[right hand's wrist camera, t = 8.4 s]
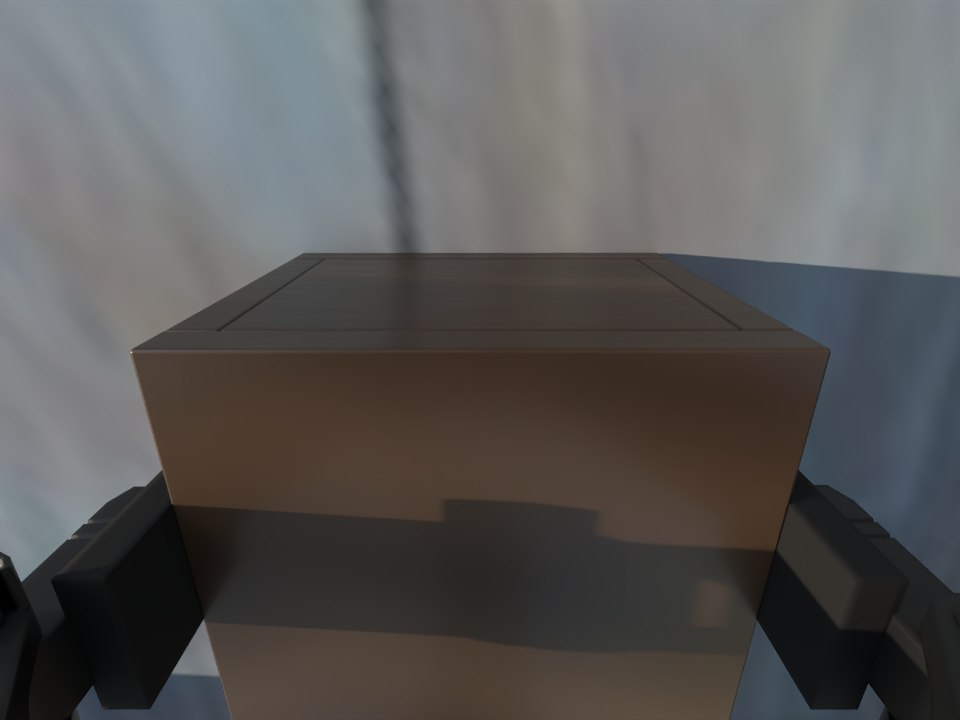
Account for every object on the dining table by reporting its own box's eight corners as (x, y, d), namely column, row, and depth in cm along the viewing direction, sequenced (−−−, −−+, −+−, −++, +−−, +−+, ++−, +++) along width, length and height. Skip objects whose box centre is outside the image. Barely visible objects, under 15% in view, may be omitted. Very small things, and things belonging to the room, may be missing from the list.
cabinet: (597, 726, 23) (653, 1001, 16) (364, 726, 23) (308, 1001, 16) (658, 252, 15) (833, 349, 8) (302, 252, 15) (127, 350, 8)
